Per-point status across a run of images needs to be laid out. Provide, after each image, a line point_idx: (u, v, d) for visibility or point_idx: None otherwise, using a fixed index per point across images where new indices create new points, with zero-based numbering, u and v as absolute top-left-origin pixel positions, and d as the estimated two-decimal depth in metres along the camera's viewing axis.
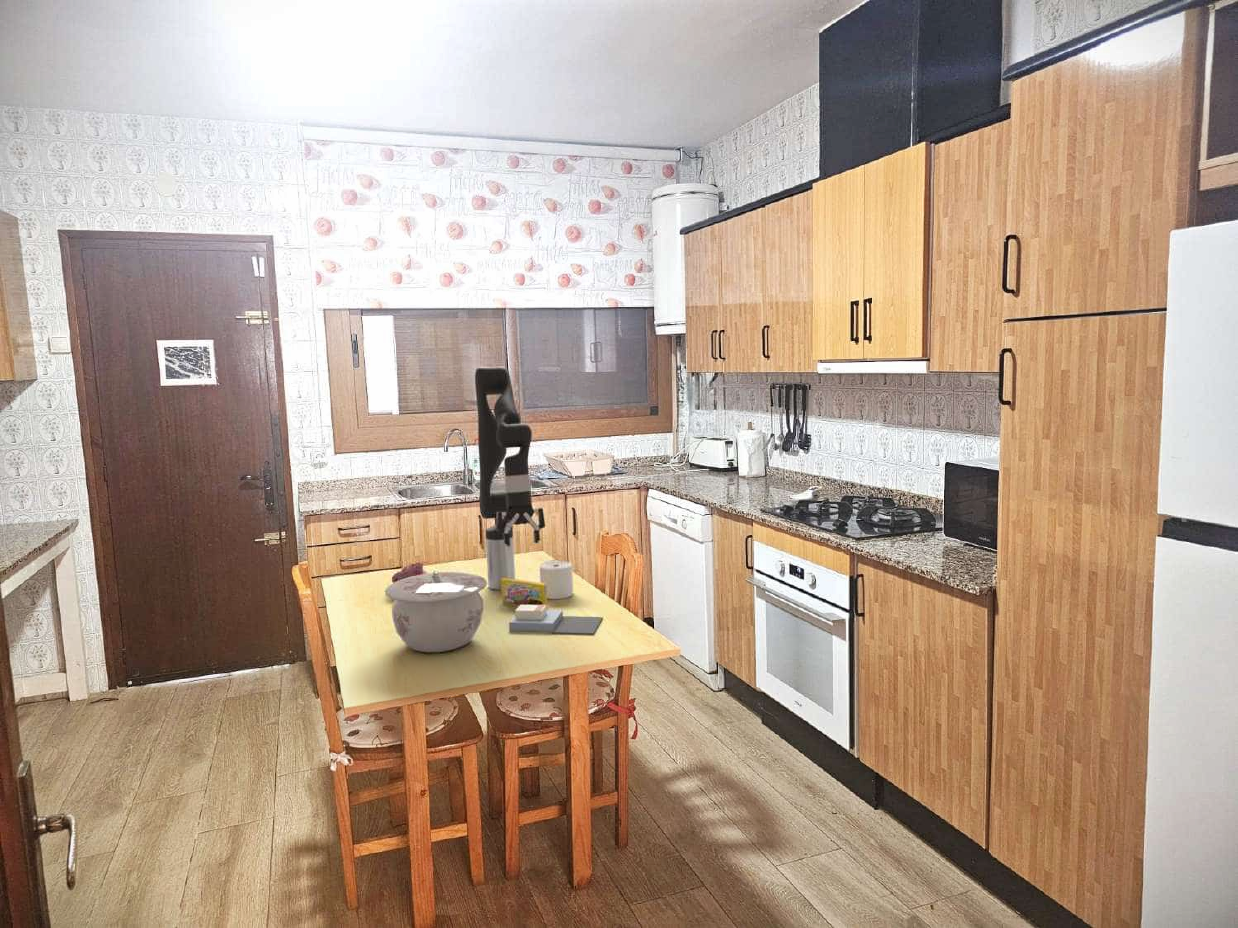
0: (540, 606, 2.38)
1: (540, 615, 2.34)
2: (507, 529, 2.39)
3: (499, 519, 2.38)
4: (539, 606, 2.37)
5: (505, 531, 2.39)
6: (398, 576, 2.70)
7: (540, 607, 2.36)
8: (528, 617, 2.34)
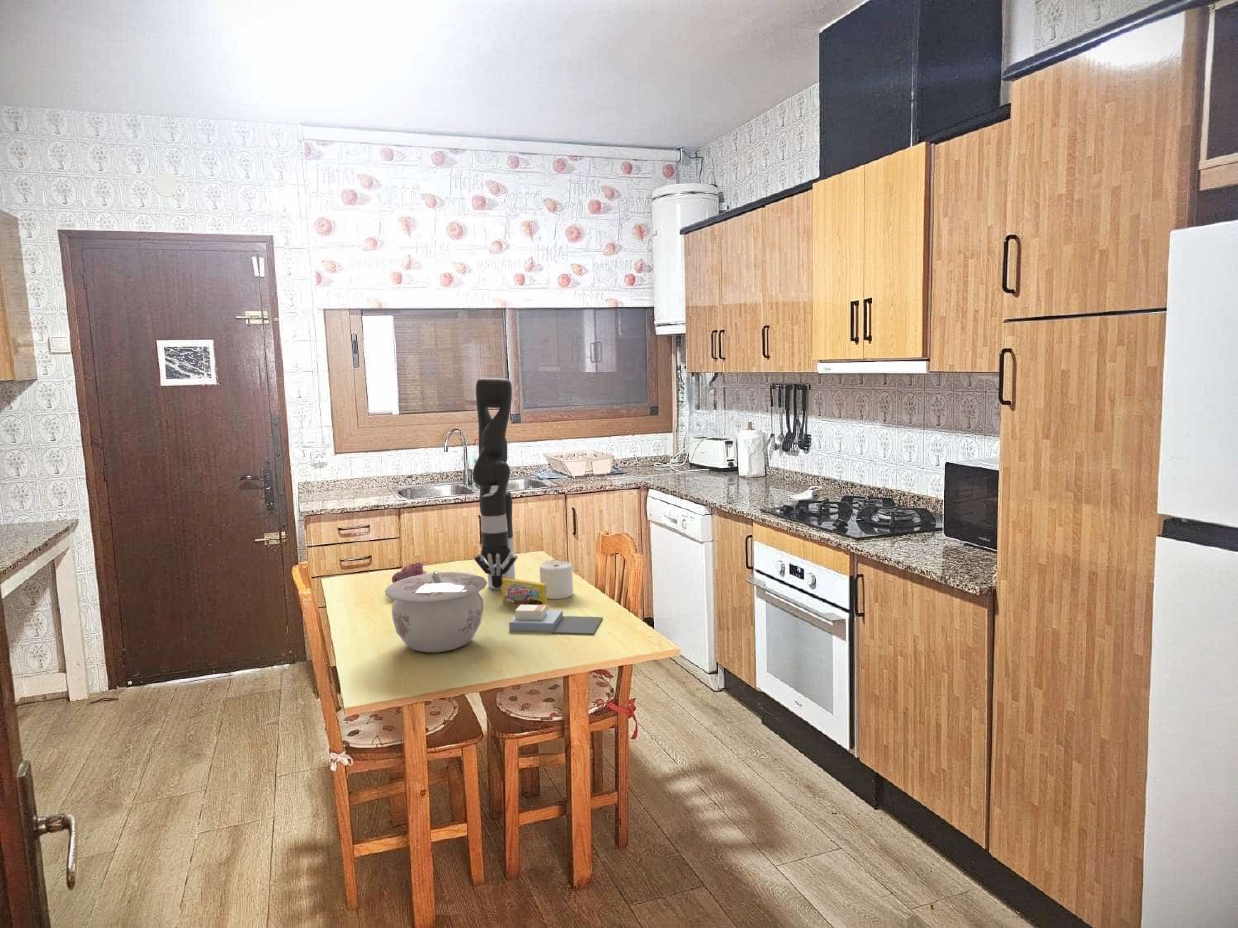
0: (540, 606, 2.38)
1: (540, 615, 2.34)
2: (492, 571, 2.36)
3: (479, 563, 2.36)
4: (539, 606, 2.37)
5: (491, 573, 2.36)
6: (398, 576, 2.70)
7: (540, 607, 2.36)
8: (528, 617, 2.34)
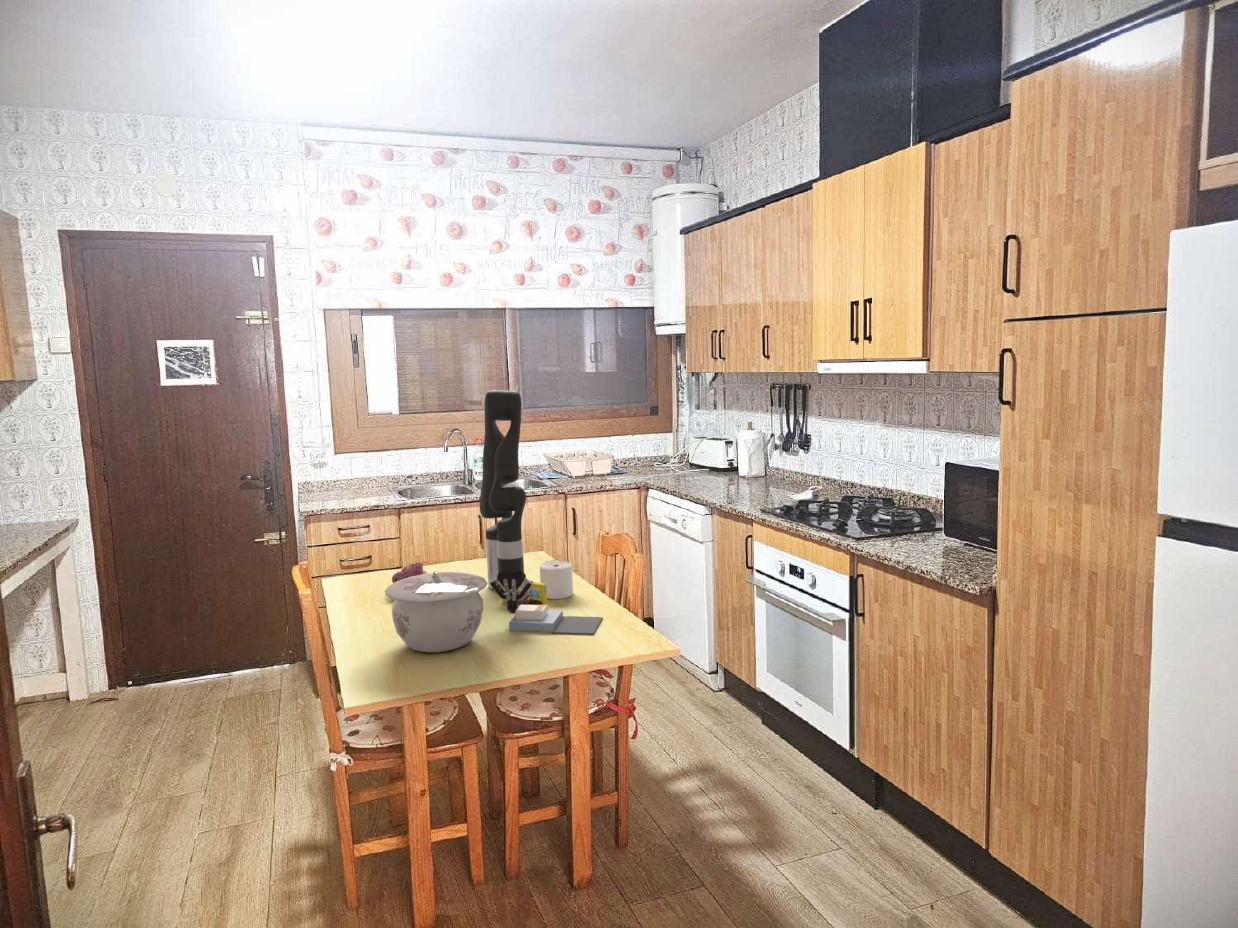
0: (541, 606, 2.38)
1: (540, 615, 2.34)
2: (508, 596, 2.36)
3: (495, 588, 2.36)
4: (539, 606, 2.37)
5: (507, 598, 2.36)
6: (398, 576, 2.70)
7: (540, 607, 2.36)
8: (528, 617, 2.34)
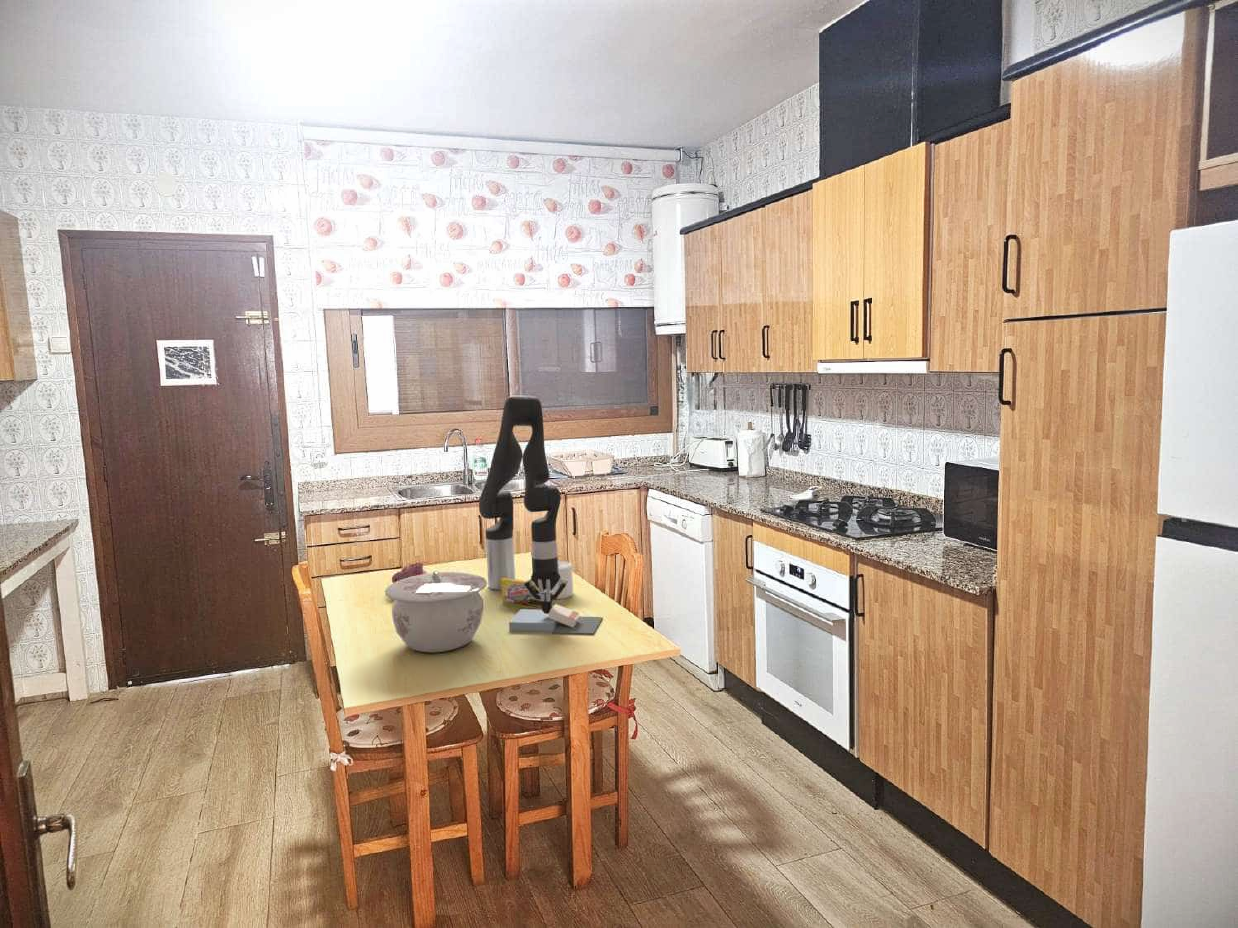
0: (575, 613, 2.35)
1: (572, 623, 2.32)
2: (542, 597, 2.34)
3: (529, 589, 2.35)
4: (573, 613, 2.35)
5: (541, 599, 2.34)
6: (398, 576, 2.70)
7: (574, 614, 2.34)
8: (560, 620, 2.32)
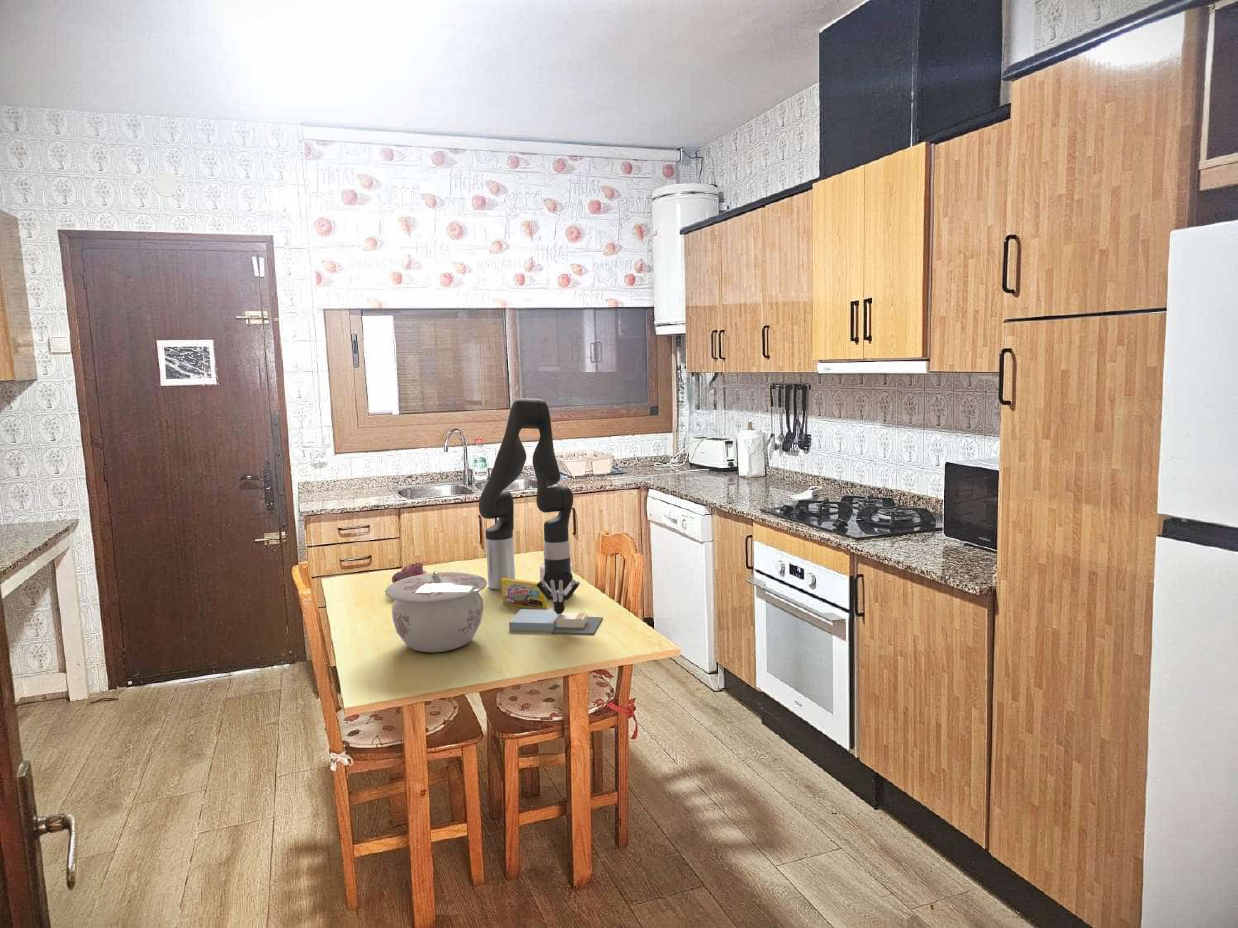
0: (581, 614, 2.35)
1: (581, 623, 2.31)
2: (554, 597, 2.34)
3: (541, 589, 2.34)
4: (579, 614, 2.35)
5: (554, 599, 2.34)
6: (398, 576, 2.70)
7: (580, 615, 2.34)
8: (569, 625, 2.32)
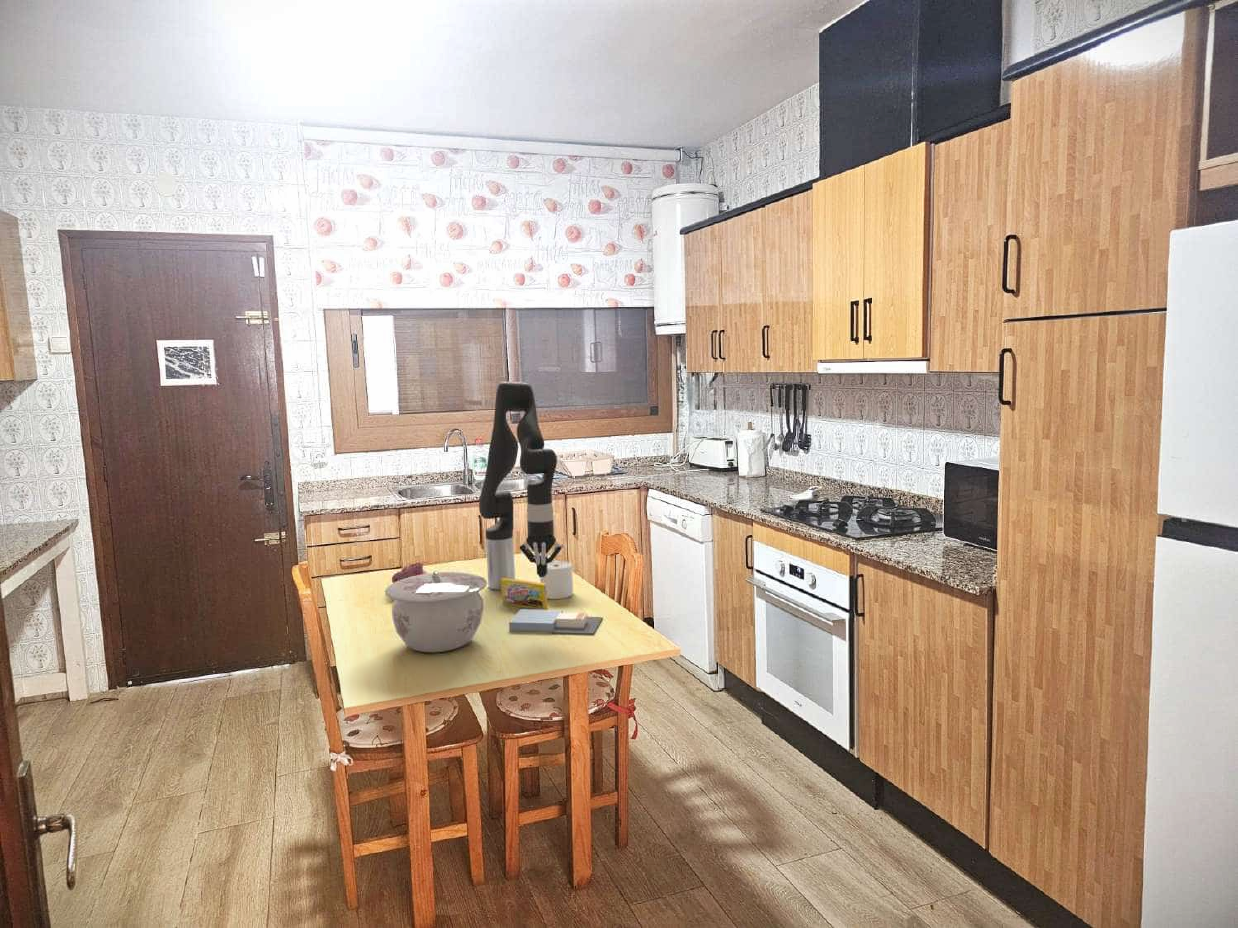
0: (581, 614, 2.35)
1: (581, 623, 2.31)
2: (537, 560, 2.33)
3: (524, 552, 2.33)
4: (579, 614, 2.35)
5: (537, 562, 2.33)
6: (398, 576, 2.70)
7: (580, 615, 2.34)
8: (569, 625, 2.32)
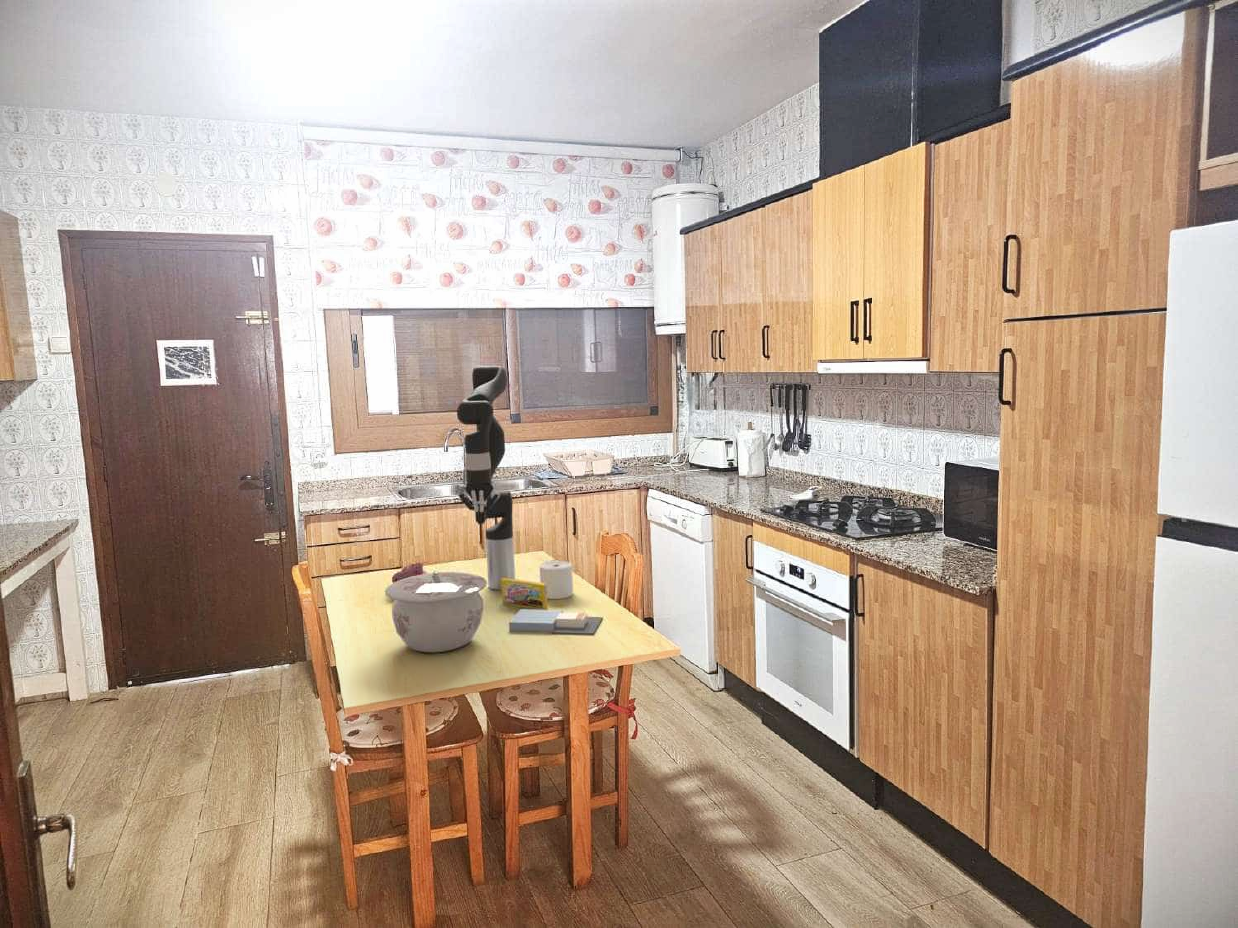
0: (581, 614, 2.35)
1: (581, 623, 2.31)
2: (475, 507, 2.44)
3: (463, 500, 2.44)
4: (579, 614, 2.35)
5: (475, 509, 2.44)
6: (398, 576, 2.70)
7: (580, 615, 2.34)
8: (569, 625, 2.32)
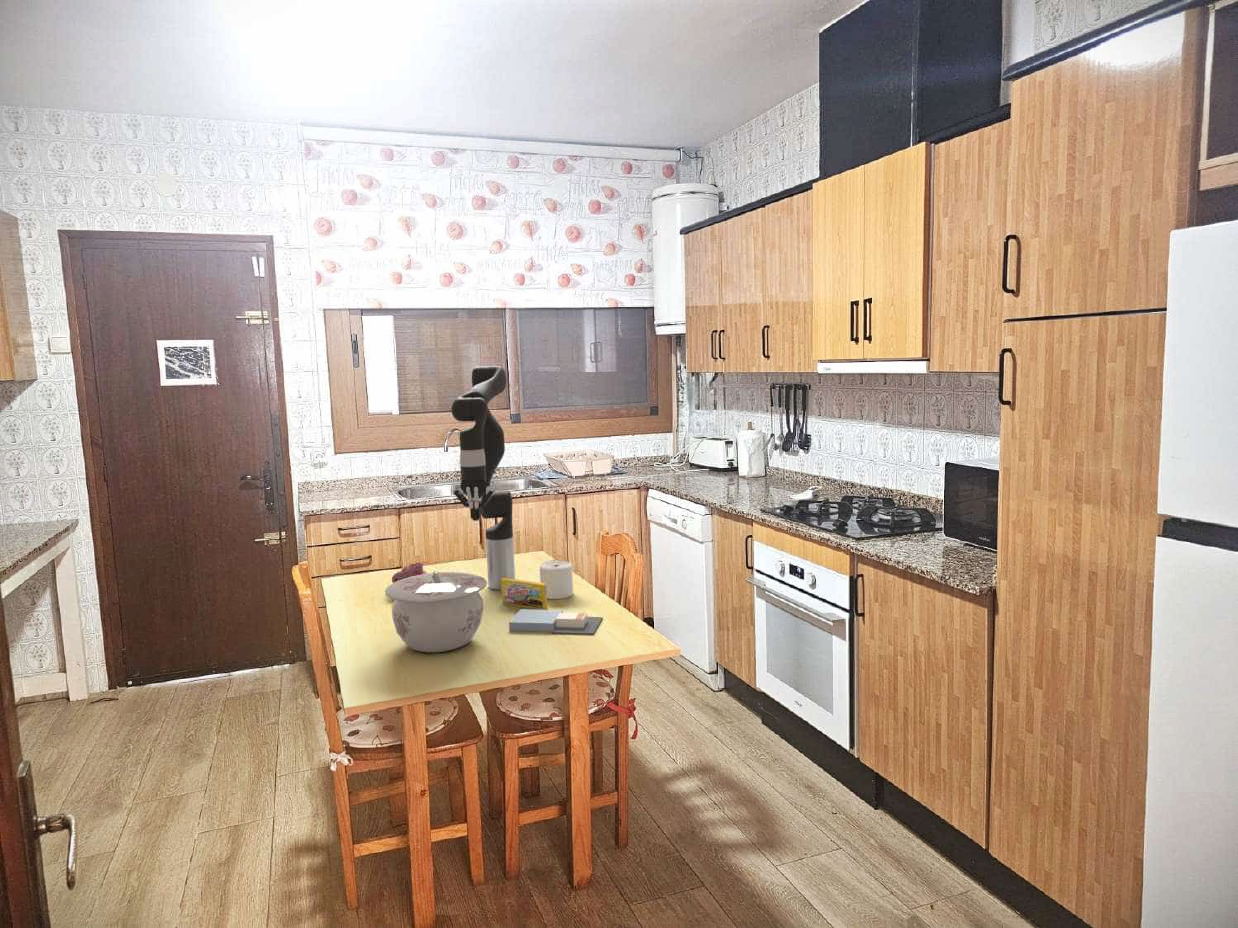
0: (581, 614, 2.35)
1: (581, 623, 2.31)
2: (470, 504, 2.45)
3: (458, 497, 2.45)
4: (579, 614, 2.35)
5: (470, 506, 2.45)
6: (398, 576, 2.70)
7: (580, 615, 2.34)
8: (569, 625, 2.32)
